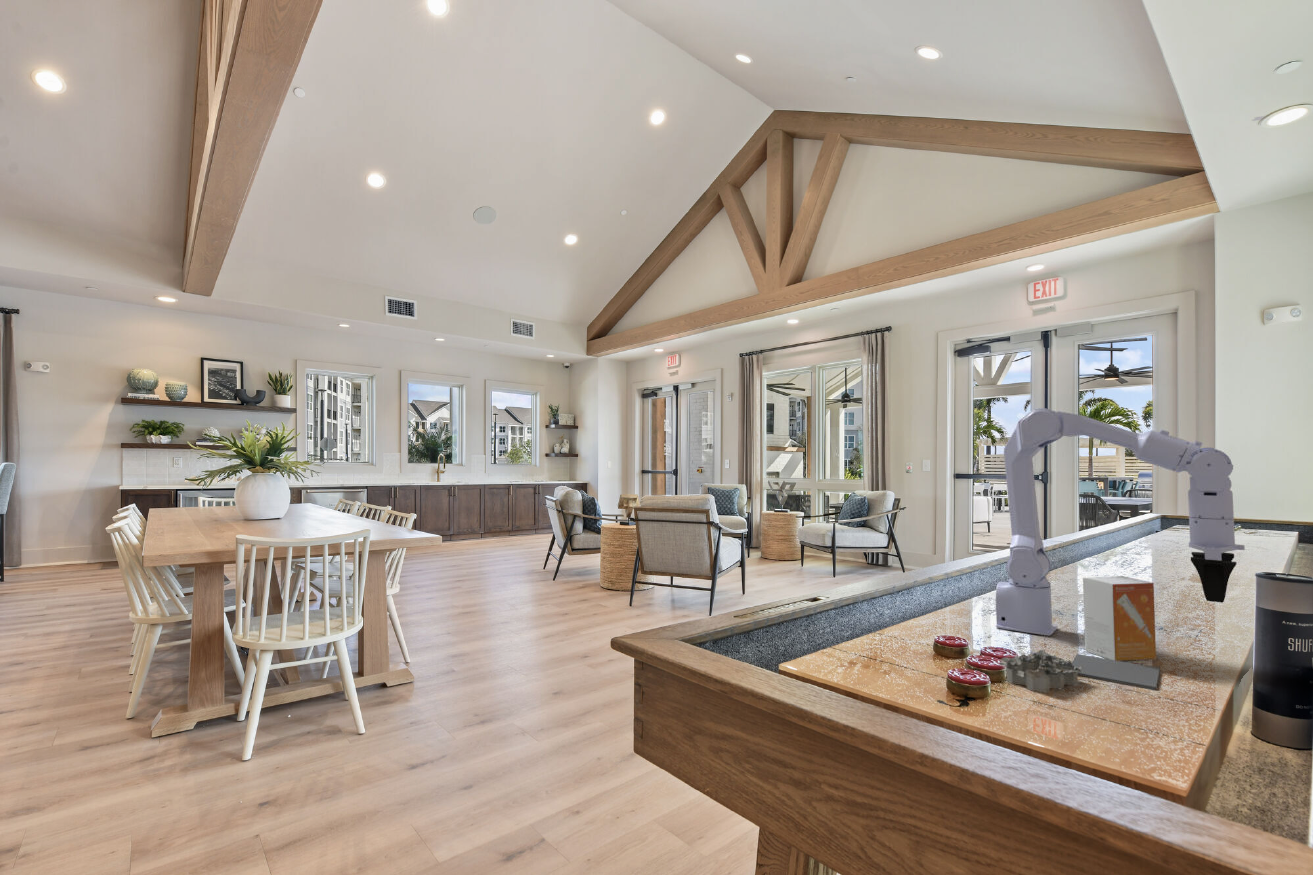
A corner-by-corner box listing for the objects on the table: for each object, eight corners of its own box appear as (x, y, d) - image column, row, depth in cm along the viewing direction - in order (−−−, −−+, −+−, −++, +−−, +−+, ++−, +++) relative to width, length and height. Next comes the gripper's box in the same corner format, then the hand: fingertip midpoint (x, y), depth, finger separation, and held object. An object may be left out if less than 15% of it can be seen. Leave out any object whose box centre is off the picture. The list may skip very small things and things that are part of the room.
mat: (1066, 673, 97) (1066, 670, 97) (1077, 656, 105) (1077, 654, 105) (1156, 689, 90) (1156, 687, 90) (1159, 670, 98) (1159, 667, 98)
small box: (1115, 662, 102) (1112, 583, 102) (1084, 650, 108) (1081, 576, 109) (1158, 659, 103) (1154, 582, 104) (1124, 648, 109) (1121, 575, 110)
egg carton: (1038, 696, 88) (1037, 668, 89) (995, 679, 95) (994, 653, 95) (1088, 686, 92) (1087, 659, 92) (1042, 670, 99) (1042, 645, 99)
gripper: (1245, 522, 97) (1249, 608, 96) (1241, 516, 108) (1244, 593, 107) (1186, 520, 102) (1190, 602, 101) (1188, 514, 112) (1191, 588, 112)
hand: (1214, 597), depth 104 cm, fingers open, 7 cm apart
